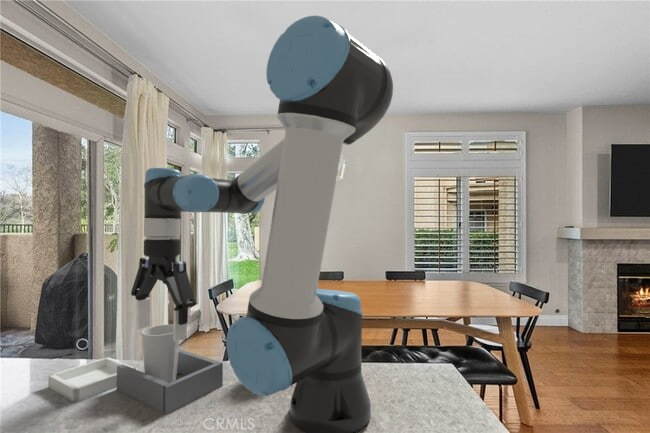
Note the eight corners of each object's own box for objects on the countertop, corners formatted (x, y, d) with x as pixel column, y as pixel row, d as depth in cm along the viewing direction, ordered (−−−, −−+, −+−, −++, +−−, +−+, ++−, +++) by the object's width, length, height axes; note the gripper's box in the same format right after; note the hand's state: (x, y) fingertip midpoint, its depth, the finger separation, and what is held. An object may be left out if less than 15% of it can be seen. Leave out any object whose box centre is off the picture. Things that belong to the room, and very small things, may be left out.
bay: (222, 385, 77) (222, 362, 77) (166, 414, 65) (167, 387, 65) (172, 367, 86) (173, 347, 86) (116, 389, 75) (116, 366, 75)
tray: (135, 379, 80) (135, 368, 80) (74, 403, 69) (74, 389, 69) (107, 367, 86) (107, 356, 86) (48, 387, 76) (48, 375, 76)
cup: (165, 394, 73) (166, 336, 73) (132, 390, 74) (133, 334, 75) (187, 377, 81) (188, 325, 81) (157, 374, 82) (157, 323, 82)
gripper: (213, 239, 75) (211, 339, 74) (146, 235, 88) (145, 319, 88) (183, 241, 68) (181, 350, 68) (115, 236, 81) (113, 327, 81)
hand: (160, 333), depth 78 cm, fingers open, 13 cm apart
